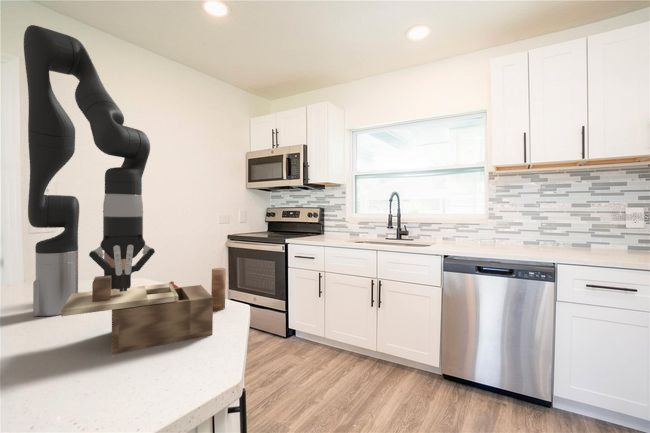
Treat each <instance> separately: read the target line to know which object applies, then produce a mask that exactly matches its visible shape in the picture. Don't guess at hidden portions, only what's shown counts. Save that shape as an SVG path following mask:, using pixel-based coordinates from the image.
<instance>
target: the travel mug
mask: <svg viewBox="0 0 650 433" xmlns="http://www.w3.org/2000/svg"><path fill="white" fill-rule="evenodd" d="M103 254H104V255H103V259H104V260H105V261H106V262H108V263H109V264H110V265H111V266H112V267H114V268H115V260H114V259H112V258H110V257H109V255H108V254H107V253H106V252H105V251H104V250H103ZM121 262H122V274H124V270H125V262H126V259H121ZM110 275H111V289H116V276H115V275H114V274H111V273H107V272H105V271H104V270H103V276H110Z"/></svg>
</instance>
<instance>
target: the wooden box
mask: <svg viewBox="0 0 650 433" xmlns="http://www.w3.org/2000/svg"><path fill="white" fill-rule="evenodd" d="M174 289H175V291H176V293H177V294H178V301H175V302H167V303H160V304H152V305H144V306H137V307H129V308H122V309H114V310H111V355H116V354H121V353H126V352H132V351H135V350H136V351H137V350H140V349H141V350H142V349H146V348H151V347H157V346H160V345H161V346H162V345H168V344H171V343H177V342H181V341H186V340H192V339H198V338H202V337H207V336H212V335H213V331H214V330H213V325H214V324H213V323H214V322H213V315H214V312H213V311H214V310H213V297H212V296H211V294H210V293H209V292H208V290H207V289H205V287H204V286H202V285H201V284H197V285H189V286H188V285H187V286H180V287H179V286H178V288H174ZM164 293H167V292H164ZM155 294H159V293H155ZM147 295H150V294H147Z"/></svg>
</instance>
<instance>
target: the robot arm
mask: <svg viewBox="0 0 650 433" xmlns="http://www.w3.org/2000/svg"><path fill="white" fill-rule="evenodd" d="M23 54H24V64H25V73H26V83H27V93H28V94H27V95H28V98H27V99H28V114H27V115H28V119H27V120H28V121H27V122H28V123H27V129H28V130H27V134H28V135H27V140H28V155H29V156H28V157H29V158H28V159H29V185H28V188H29V189H28V201H27V203H28V204H27V215H28V216H27V218H28V221H29V224H30V225H31V227H33V228H37V229H43V228H45V229H46V228H47V229H48V228H51V229H53V228H55V229H57V228H63V229H64V230H63V231H62V232H60V233H59V234H58V235H56V236H53V237H51V238H47V239H43V240H40V241H37V242H36V243H35V246H34V247H35V280H34V281H33V286H32V287H33V288H32V290H33V291H32V292H33V293H32V295H33V296H32V298H33V300H32V301H33V302H32V303H33V304H32V307H33V308H32V310H33V313H32V314H33V315H32V317H49V316H59V315H61V310H62V309H63V307H64V305H65V304H66V302H67V300H68V299H69V297H70V296H71V294H72V293H79V233H78V232H79V220H80V202H79V200H78V198H77V197H76V196H74V195H63V194H62V195H60V194H59V195H57V194H45V192H46V190H47V188H48V186H49V184H50V182H51V181H52V179H53V178H54V177H55V176H56V174H58V172H59V171H60V170H61V169H62V168H64V166H65V165H66V164H67V163H68V162H69V161H70V160H71V159H72V157H73V156H74V154H75V150H76V127H75V124H74V123H73V121H72V119H71V118H70V117H69V114H68V113H67V112H66V110H65V109H64V108H63V106H62V104H61V103H60V102H59V100H58V98H57V96H56V95H55V93H54V91H53V88H52V87H53V86H52V84H51V78H50V72H53V73H60V74H64V75H70V76H73V77H75V78H76V79H77V80H78V81H79V82H78V84H77V86H76V88H75V91H74V99H75V102H76V105H77V107H78V108H79V110H80V112H81V113H82V115H83V116H84V117H85V119H86V120H87V122H88V123H89V126H90V127H89V128H90V130H91V133H92V134H91V135H92V138H93V142H94V144H95V146H96V148H98V150H99V151H100V152H102V153H104V154H106V155H108V156H112V157H117V158H123V162H122V164H121V166H118V167H110V168H107V169H106V170H105V174H104V198H103V203H102V204H103V206H102V209H103V210H102V214H103V216H102V218H103V219H102V220H103V221H102V222H103V223H102V225H103V226H102V227H103V228H102V229H103V230H102V232H103V233H102V235H103V237H102V240H101V242H100V246H98V247H97V248H95V249H93V250H91V251H90V252H89V254H88V255H89V256H88V257H90V258H91V259H92V260H93V262H95V263H96V264H97V265H98V266H99V267H100V268H101V269H102V270H103V272H104V271H105V272H107V273H111V274H114V275H115V276H116V289H120V292H122V291H127V288H130V287H132V284H131V283H132V280H131V279H132V277H131V276H132V274H133V273H136V272H139V271H140V270H141V269H142V268H143V267H144V265H145V264H146V263H147V262H148V261H149V260H150V259H151V257H152V256H153V255H154V254H155V253H156V251H155V249H154V248H153V247H151V246H149V245H147V244H146V241H145V239H144V237H143V235H144V232H143V231H144V217H143V216H144V203H143V196H142V194H143V188H142V186H143V185H142V184H143V183H142V181H143V180H142V178H143V175H144V172H145V169H146V166H147V162H148V160H149V156H150V151H151V143H150V139H149V137H148V136H147V134H146V133H145V132H144V131H142V130H140V129H137V128H134V127H129V126H127V125H126V126H125V125H124V124H125V117H124V116H125V115H124V114H123V112H122V110H121V109H120V107H119V106H118V105H117V103H116V102H115V101H114V99H113V98H112V96H111V95H110V94H109V93H108V91H107V90H106V88H105V86H104V84H103V82H102V81H101V78H100V76H99V74H98V73H99V72H97V69H96V67H95V65H94V63H93V60H92V58H91V56H90V55H89V53H88V51H87V49H86V47H85V46H84V45H83V43H82V42H81V41H80V40H79V39H78V38H75V37H74V36H71V35H68V34H66V33H63V32H59V31H56V30H52V29H49V28H46V27H42V26H39V25H34V24H33V25H32V24H31V25H28V26H27V27H26V29H25V31H24V34H23ZM104 251H105V252H106V253H107V254H108V255H109V257H110V258H112V259H114V260H115V268H114V267H112V266H111V265H110V264H109V263H108V262H106V261H105V260H104ZM141 251H142V256H141V257H140V258H139V259H138V261H137V262H136V263H134V265H133V259H134V258H136V257H137V256H138V255H139V253H140V252H141ZM121 259H126V262H125V270H124V274H122V262H121Z"/></svg>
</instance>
